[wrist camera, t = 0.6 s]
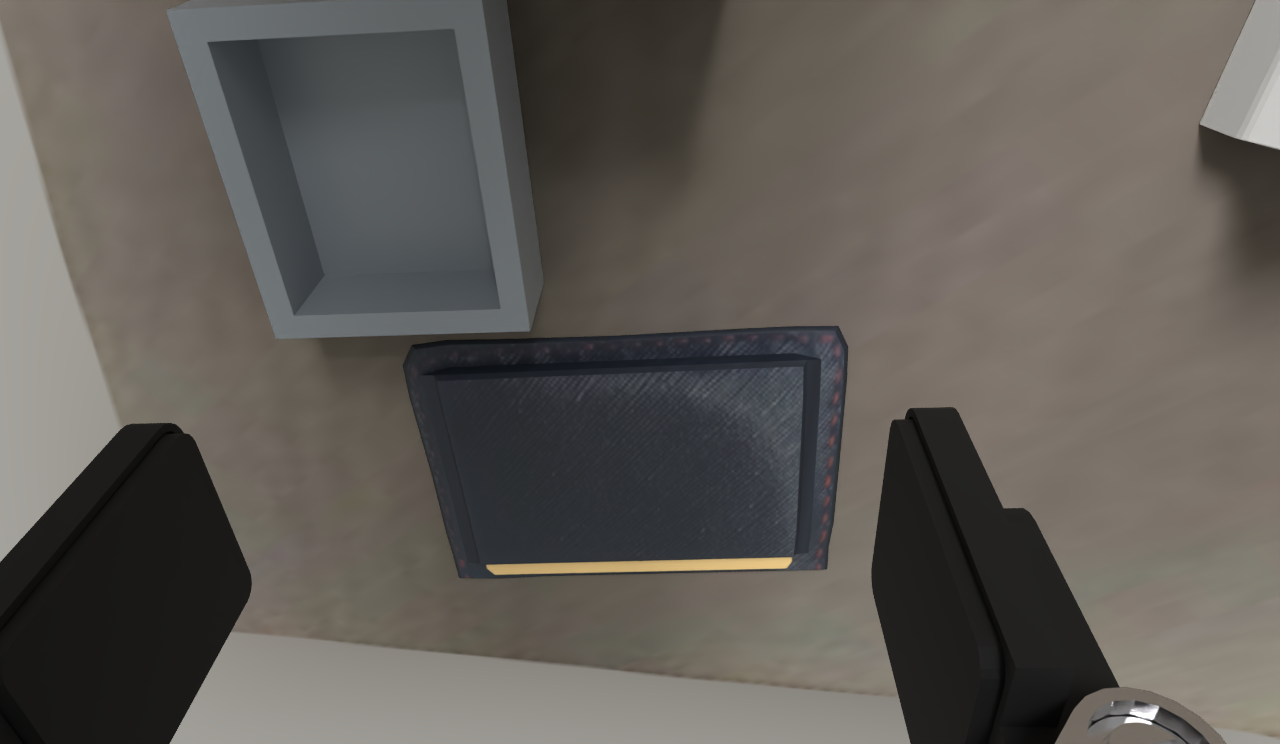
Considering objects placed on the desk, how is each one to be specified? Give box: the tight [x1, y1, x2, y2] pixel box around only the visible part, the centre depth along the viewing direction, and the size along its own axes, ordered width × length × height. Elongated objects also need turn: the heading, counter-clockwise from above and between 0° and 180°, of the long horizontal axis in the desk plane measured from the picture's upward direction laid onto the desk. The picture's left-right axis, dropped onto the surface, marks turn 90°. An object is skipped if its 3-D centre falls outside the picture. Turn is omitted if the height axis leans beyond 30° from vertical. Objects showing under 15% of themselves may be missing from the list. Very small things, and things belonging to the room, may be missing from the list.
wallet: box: [403, 326, 848, 578], centre depth 41 cm, size 20×2×15 cm
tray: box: [166, 0, 544, 339], centre depth 31 cm, size 12×10×4 cm
